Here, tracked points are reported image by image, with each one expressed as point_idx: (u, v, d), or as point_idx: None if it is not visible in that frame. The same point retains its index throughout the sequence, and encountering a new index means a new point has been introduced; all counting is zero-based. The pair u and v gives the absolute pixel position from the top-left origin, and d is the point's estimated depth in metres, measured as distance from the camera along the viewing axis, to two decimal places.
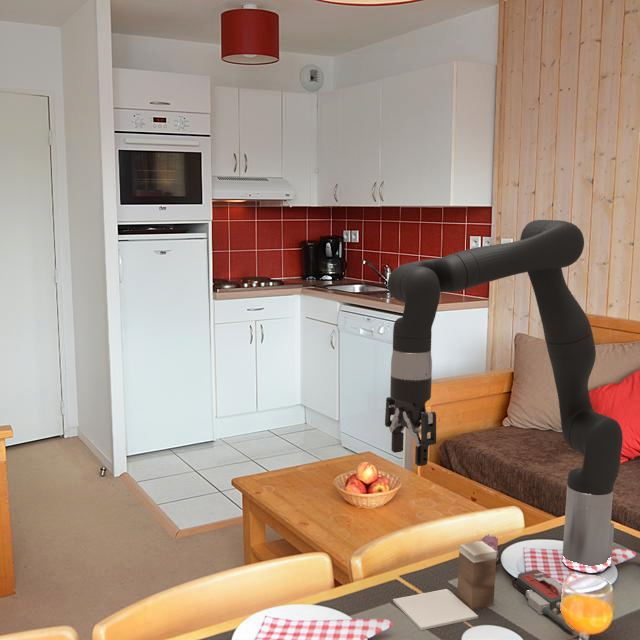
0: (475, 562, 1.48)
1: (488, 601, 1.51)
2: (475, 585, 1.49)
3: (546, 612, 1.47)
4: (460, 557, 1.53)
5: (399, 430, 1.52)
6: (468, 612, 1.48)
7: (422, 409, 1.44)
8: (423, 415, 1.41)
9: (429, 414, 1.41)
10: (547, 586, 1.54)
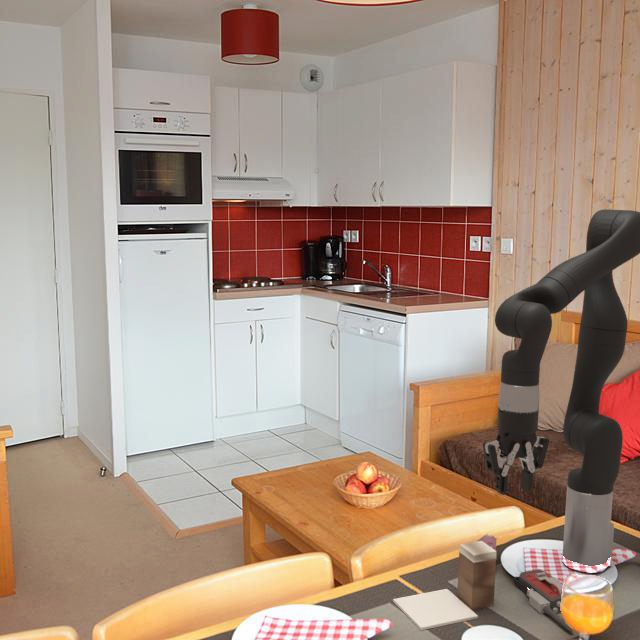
0: (475, 562, 1.48)
1: (488, 601, 1.51)
2: (475, 585, 1.49)
3: (546, 611, 1.48)
4: (460, 557, 1.53)
5: None
6: (468, 612, 1.48)
7: None
8: (547, 440, 1.52)
9: None
10: (549, 585, 1.54)
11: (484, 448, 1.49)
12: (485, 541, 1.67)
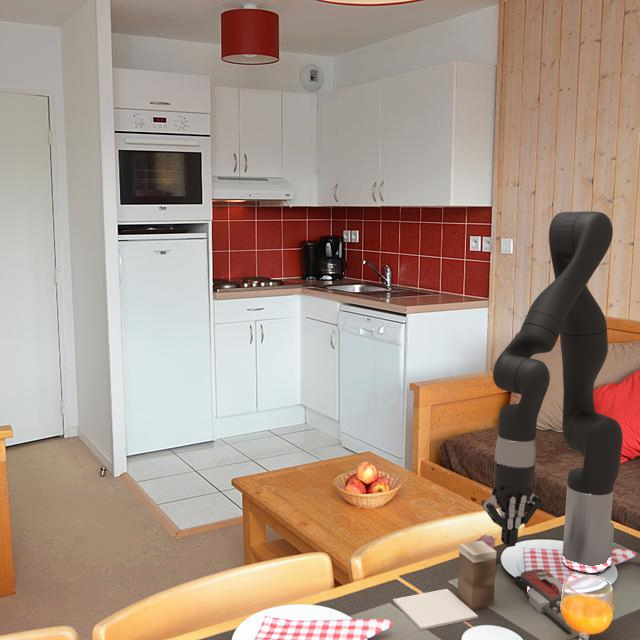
0: (475, 562, 1.48)
1: (488, 601, 1.51)
2: (475, 585, 1.49)
3: (545, 610, 1.48)
4: (460, 557, 1.53)
5: None
6: (468, 612, 1.48)
7: None
8: (540, 500, 1.54)
9: None
10: (549, 585, 1.54)
11: (484, 507, 1.52)
12: (483, 541, 1.68)
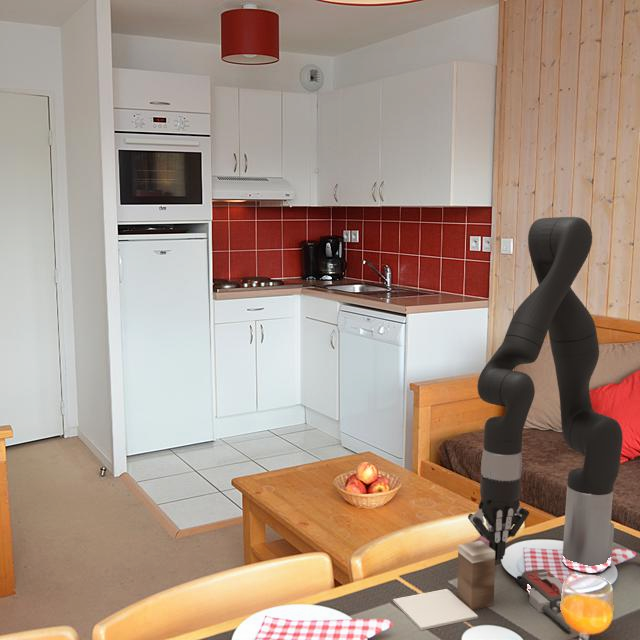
0: (473, 563, 1.48)
1: (488, 601, 1.51)
2: (475, 585, 1.49)
3: (545, 610, 1.48)
4: (459, 557, 1.53)
5: None
6: (468, 612, 1.48)
7: None
8: (528, 513, 1.53)
9: None
10: (550, 585, 1.55)
11: (470, 521, 1.51)
12: (482, 541, 1.68)
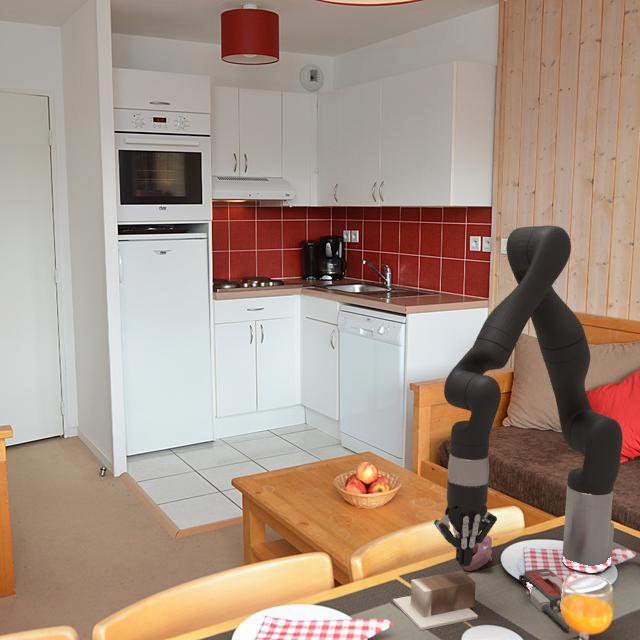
0: (430, 614, 1.46)
1: (470, 589, 1.49)
2: (452, 607, 1.48)
3: (545, 609, 1.48)
4: None
5: None
6: (468, 612, 1.48)
7: None
8: (495, 518, 1.50)
9: None
10: (551, 584, 1.55)
11: (437, 527, 1.48)
12: None
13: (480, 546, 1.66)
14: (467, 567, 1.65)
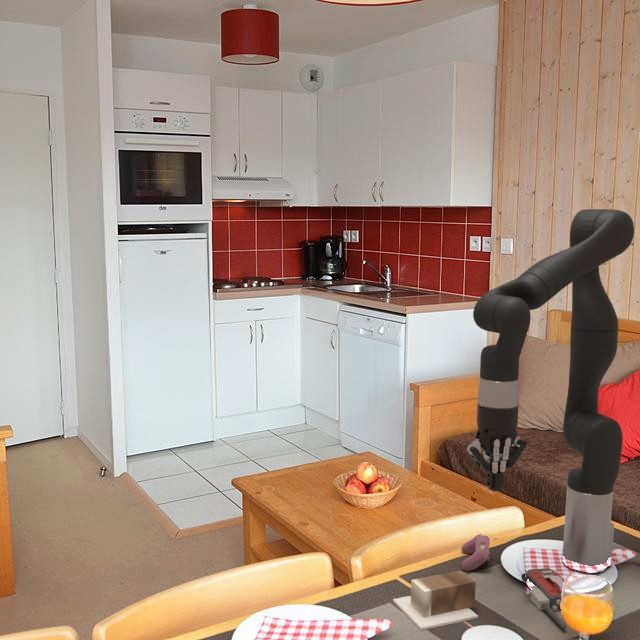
0: (430, 614, 1.46)
1: (470, 589, 1.49)
2: (452, 607, 1.48)
3: (544, 608, 1.49)
4: None
5: None
6: (468, 612, 1.48)
7: None
8: (526, 443, 1.50)
9: None
10: (553, 583, 1.55)
11: (467, 451, 1.48)
12: (478, 541, 1.68)
13: (478, 546, 1.66)
14: (465, 567, 1.65)
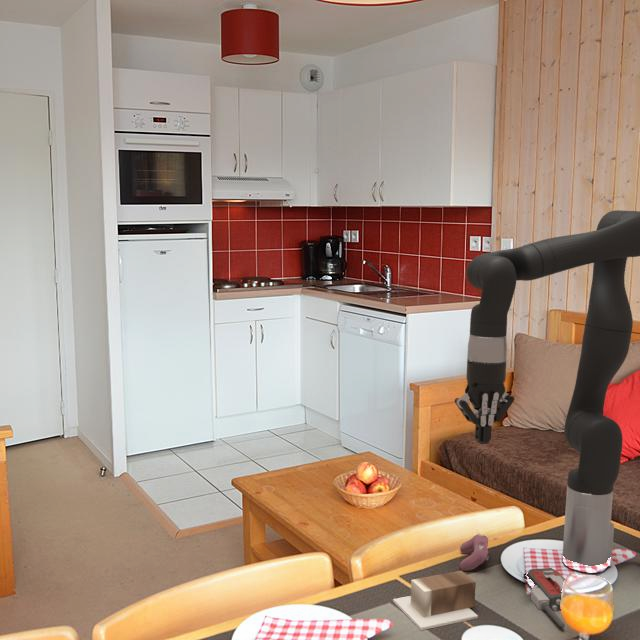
0: (430, 614, 1.46)
1: (470, 589, 1.49)
2: (452, 607, 1.48)
3: (543, 607, 1.49)
4: None
5: None
6: (468, 612, 1.48)
7: None
8: (513, 398, 1.57)
9: None
10: (553, 583, 1.55)
11: (457, 405, 1.55)
12: (477, 540, 1.68)
13: (476, 546, 1.66)
14: (463, 567, 1.65)
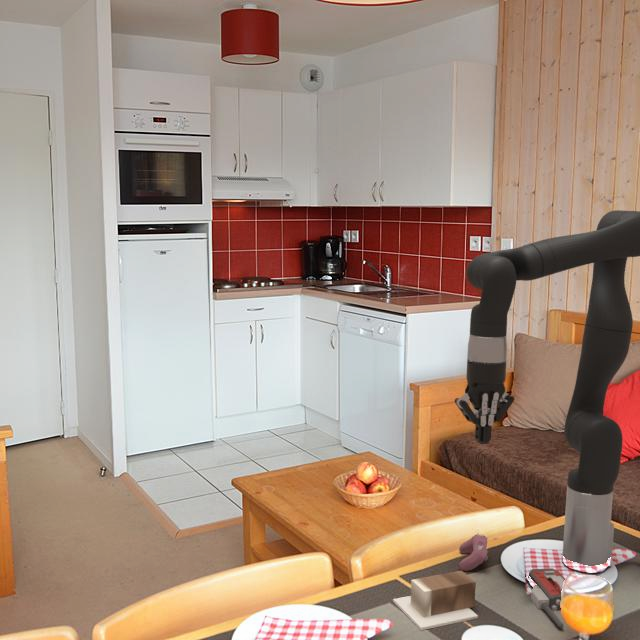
0: (430, 614, 1.46)
1: (470, 589, 1.49)
2: (452, 607, 1.48)
3: (543, 607, 1.49)
4: None
5: None
6: (468, 612, 1.48)
7: None
8: (513, 398, 1.57)
9: None
10: (554, 583, 1.55)
11: (457, 405, 1.55)
12: (476, 540, 1.68)
13: (476, 546, 1.66)
14: (463, 567, 1.65)
